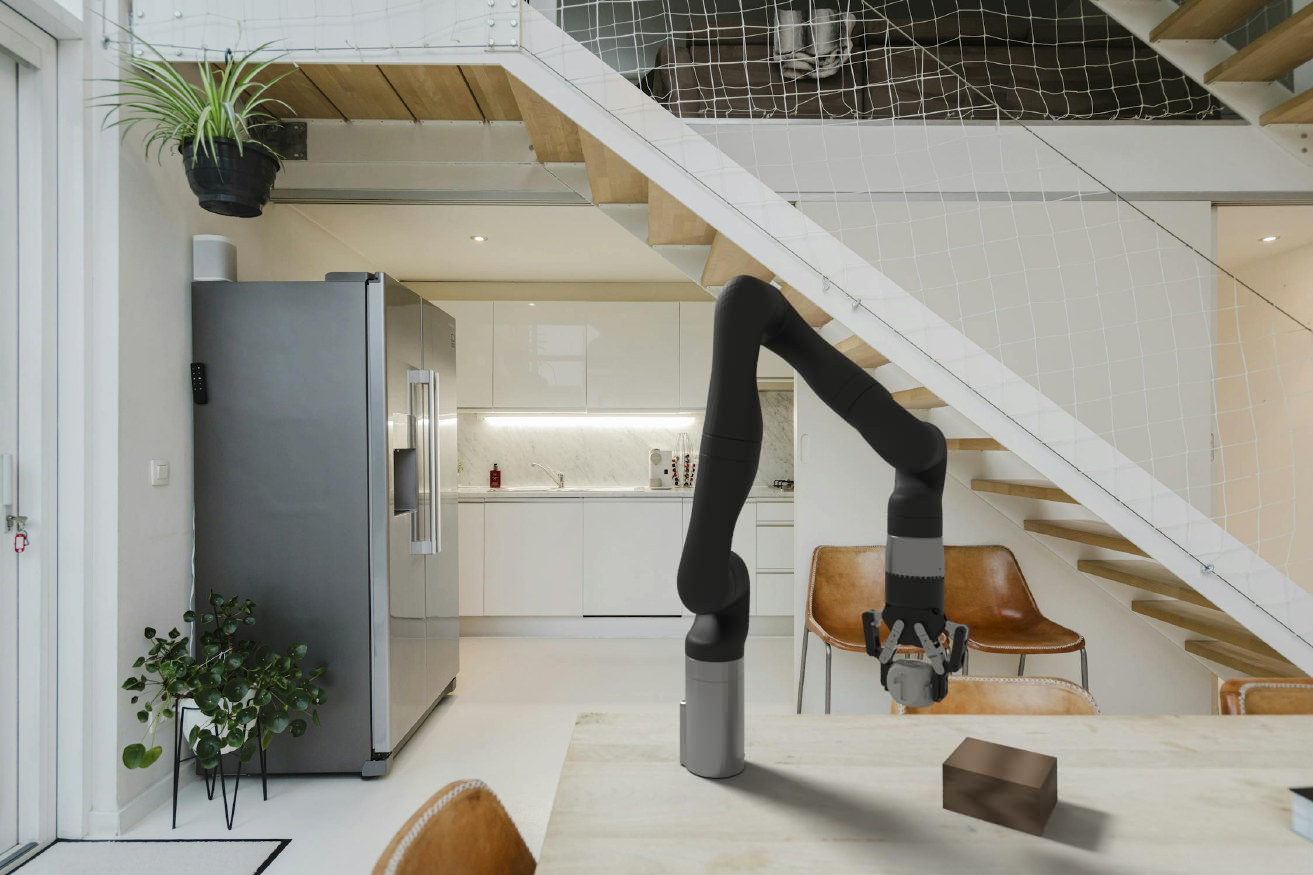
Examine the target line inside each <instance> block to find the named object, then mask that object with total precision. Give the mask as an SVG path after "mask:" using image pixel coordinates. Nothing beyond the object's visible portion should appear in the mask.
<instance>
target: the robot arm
mask: <svg viewBox="0 0 1313 875" xmlns="http://www.w3.org/2000/svg"><path fill="white" fill-rule="evenodd" d="M712 340H713V342H712V360H711V361H712V362H711V370H710V371H711V372H710V377H709V378H710V380H709V385H708V392H707V398H706V399H707V400H706V407H705V416H704V422H703V426H702V433H701V438H700V446H699V453H698V462H697V463H698V464H697V471H696V479H695V485H694V491H693V497H692V507H691V513H690V519H689V524H688V529H687V533H686V536H685V541H684V545H683V547H682V552H681V557H680V560H679V564H678V569H677V574H676V588H677V594H678V597H679V599H680V601H681V604H683V606H684V607H685V608H686V609H687V610H688V611H689V612H690V613H693V614H694V615H695V616H694V620H693V623H692V626H691V627H690V628H689V630H688V632H687V634H686V635H685V639H684V666H685V667H684V670H685V671H684V677H685V678H684V679H685V680H684V700H682V701H680V703H679V764H681V765H683V766H685V768H686V769H687V770H688V771H690V773H693V774H694V775H698V776H701V777H705V778H713V779H714V778H715V779H717V778H718V779H719V778H729V777H733V776H736V775H738V774H740V773H741V772H742V771H743V770H744V769H745V756H746V754H745V740H746V739H745V736H746V734H745V733H746V732H745V724H746V723H745V718H746V717H745V714H746V713H745V645H746V641H747V638H748V634H749V628H750V612H751V611H750V610H751V609H750V607H751V606H750V604H751V579H750V573H749V569H748V567H747V564H746V562H745V560H743V558H742V557H741V556H740V555H739V554H738V553H737V552H735V551H733V550H732V547H733V546H732V545H733V538H734V537H733V536H734V532H735V528H736V525H737V522H738V519H739V516H740V514H741V512H742V510H743V508H744V505H745V503H746V500H747V499H748V496H749V494H750V493H751V492H750V491H751V490H752V488H753V486H754V482H755V479H756V477H757V474H758V470H759V465H760V459H761V458H760V457H761V451H762V444H763V438H764V436H763V434H764V421H763V420H764V418H763V412H762V406H761V401H760V400H761V399H760V395H759V388H758V378H757V375H758V374H757V373H758V362H759V356H760V350H761V346H762V347H763V348H766V349H767V350H768V351H770V352H772V353H774V354H775V355H777V356H778V357H780V358H781V359H783V360H784V361H785V362H787V363H788V364H789V365H790V366H791V367H792V368H793V369H794V370H795V371H796V372H797V373H798V374H799V376H801V377H802V379H803V380H804V381H805V383H806V384H807V385H808V387H809V388H810V389H811V390H812V392H814V393H815V395H816V396H817V397H818V398H819V399H820V400H821V401H822V402H823V403H824V404H825V405H826V406H828V407H829V408H830V410H832V411H833V412H834V413H836V414H837V416H839V417H840V418H841V419H842V420H844V422H846V423H847V424H848V425H850V426H851V427H852V428H854V429H855V430H856V431H857V432H858V433H859V434H860V436H861V437H862V438H863V439H864V440H865V442H866V443H867V444H868V445H869V446H870V447H871V448H872V449H873V451H874V452H875V453H876V454H877V455H878V456H879V457H880V458H882V459H883V461H885V462H886V463H887V464H888V465H889V466H891V467H893V469H895V470H894V471H895V473H894V488H893V491H892V493H891V494H890V496H889V499H888V503H887V512H886V513H887V516H886V517H887V518H886V520H887V522H886V524H887V525H886V526H887V528H886V530H887V531H886V533H887V534H886V543H885V550H884V603H885V604H884V607H883V609H882V610H880V611H879V610H878V611H877V610H875V609H869V610H867V611H864V612H863V613H861V621H862V627H863V636H864V642H865V643H864V644H865V650H866V654H867V655H868V656H870V657H874V658H876V659H877V660H878V661H879V665H880V672H879V673H880V677H879V678H880V684H881V686H882V687H884V691H885V692H889V690H888V687H887V675H888V671H889V669H890V667H891V665H892V664H893V663H894V662H895V661H896V660H895V661H894V658H895V656H896V654H897V652H898V650H899V649H900V647H901V646H913V647H915V648H918V649H923V650H924V652H925V656H927V658H928V659H929V660H930V662H931V664H932V665H933V667H934V669H935V673H934V674H933V701H934V702H935V703H938V704H940V703H941V702H942V701H943V700H944V699H945V698H947V696H948V694H949V673H957V672H959V671H960V670H961V669H962V668H963V667H964V666H965V661H966V655H967V649H968V643H969V639H970V638H969V637H970V632H971V627H970V625H969V624H967V623H962V624H960V623H956V622H953V621H950V620H948V617H947V616H946V613H945V571H946V562H945V548H944V542H943V541H944V538H943V534H944V533H943V530H944V529H943V527H944V526H943V525H944V523H943V522H944V520H943V519H944V514H943V512H944V511H943V495H944V494H943V493H944V488H945V482H946V476H947V475H946V474H947V466H948V444H947V439H946V437H945V435H944V433H943V431H942V430H941V429H940V428H939V427H938V426H937V425H935V424H933V423H931V422H928V421H923V420H920V419H919V418H917V417H916V416H915V415H913V414H912V413H911V412H910V411H908V410H907V409H906V408H904V407H903V406H902V405H901V404H900V403H898V402H897V401H896V400H894V396H893V395H892V393H891V391H890V390H888V389H887V388H886V387H885V386H884V385H883V384H881V383H880V382H879V381H878V380H877V379H876V378H875V377H873V376H872V375H871V374H869V373H868V372H867V371H866V370H864V369H863V368H862V367H861V366H859V365H858V364H857V363H855V361H853V360H852V359H850V358H849V357H848V356H846V355H845V354H844V353H842V352H841V351H840V350H838V349H837V348H836V347H835V346H833V345H832V344H831V343H829V341H827V340H826V339H825V338H823V336H821V334H819V333H818V332H817V331H816V330H815V329H814V328H813V327H812V326H811V325H810V324H809V323H808V322H807V321H806V320H805V319H804V317H802V315H801V314H800V312H798V311H797V309H796V308H795V307H794V306H793V305H792V303H791V302H790V301H789V300H788V299H787V298H786V296H785V295H784V294H783V292H782V291H781V290H780V289H779V288H778V287H776V286H774V285H773V284H771V283H768V282H767V281H764V280H762V279H760V278H758V277H756V276H753V275H748V274H741V275H740V274H739V275H735V276H733V277H732V278H731V279H729V280H728V281H727V282H726V283H725V284H724V285H723V287H722V288H721V289H720V291H719V293H718V295H717V298H716V302H715V306H714V317H713V338H712ZM882 621H883V622H884V624H885V625H886V627H887V629H888V630H889V632H890V633H889V635H888V636H887V639H886V641H885V643H884V647H882V643H881V641H882V640H881V634H880V628H879V627H880V626H881V625H882ZM945 630H946V631H947V632H948V637H949V638H950V640H951V641H952V645H951V652H950V657H949V658H950V659H949V660H948V659H947V656H946V653H945V649H944V645H943V643H942V641H941V639H940V636H941V635H942V634H943V632H944V631H945ZM889 693H890V692H889Z"/></svg>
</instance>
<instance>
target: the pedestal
mask: <svg viewBox="0 0 1313 875" xmlns="http://www.w3.org/2000/svg"><path fill="white" fill-rule="evenodd" d="M941 765H942V767H941V768H942V770H941V771H942V772H941V773H942V809H946V810H948V811H951V812H952V811H953V812H955V813H958V814H962V815H965V816H969V817H972V818H975V819H978V820H979V819H980V820H983V821H984V822H985V821H986V822H989V823H993V824H996V825H1000V826H1002V827H1006V828H1010V829H1013V830H1016V831H1019V832H1024V833H1027V834H1030V835H1034V836H1037V837H1041V836H1042V834H1043V832H1044V830H1045V828H1046V825H1047V824H1048V822H1049V819H1050V818H1051V815H1052V814H1053V811H1054V809H1055V807H1056V804H1057V803H1058V801H1059V800H1058V796H1059V795H1058V757H1057V756H1052V755H1048V754H1044V753H1039V752H1035V751H1031V750H1027V749H1022V748H1018V747H1014V746H1009V745H1004V744H1001V743H996V742H990V741H987V740H983V739H977V738H975V737H970V736H966V737H965V738H964V740H962V741H961V743H960V744H959V745H958V746H957V747H956V748H955V749H954V750H953V751H952V753H950V754H949V756H948V757H947V758H946V759H945V760H944V761H943V762H942V764H941Z"/></svg>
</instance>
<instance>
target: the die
mask: <svg viewBox="0 0 1313 875" xmlns="http://www.w3.org/2000/svg"><path fill="white" fill-rule="evenodd" d="M934 673H935V669H934V667H933V665H932V663H930V662H928V661H926V660H923V659H922V660H921V659H917V658H900V659H896V660H895V662H894V663H893V664H892V665H891V667H890V669H889V671H888V675H887V687H888V690H889V694H890V696H891V697H892V699H894V701H895V702H896V703H897V704H900V705H901V706H904V707H909V708H919V709H921V708H922V709H923V708H929V707H931V706H933V705H934V704H935V703H936V702H934V701H933V674H934Z"/></svg>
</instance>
